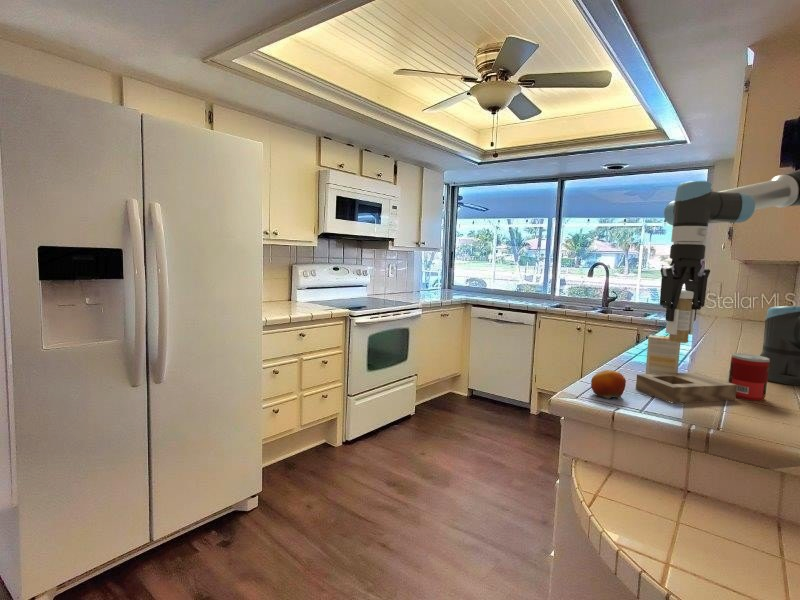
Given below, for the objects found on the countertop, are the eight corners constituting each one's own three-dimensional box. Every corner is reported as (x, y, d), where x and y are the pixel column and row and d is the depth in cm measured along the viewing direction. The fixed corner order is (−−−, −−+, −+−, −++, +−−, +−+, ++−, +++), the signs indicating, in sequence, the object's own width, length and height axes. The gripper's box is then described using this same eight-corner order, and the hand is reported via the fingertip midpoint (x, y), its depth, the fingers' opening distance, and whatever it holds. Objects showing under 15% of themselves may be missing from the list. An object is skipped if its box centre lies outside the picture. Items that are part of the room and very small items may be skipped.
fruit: (611, 399, 107) (601, 367, 111) (591, 405, 114) (582, 375, 118) (638, 397, 110) (628, 366, 113) (617, 404, 116) (607, 374, 120)
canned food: (771, 402, 114) (776, 360, 113) (736, 399, 116) (741, 358, 114) (754, 393, 121) (759, 354, 120) (721, 390, 123) (726, 352, 122)
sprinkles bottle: (670, 339, 119) (675, 289, 118) (690, 342, 116) (695, 291, 115) (666, 341, 116) (671, 290, 114) (686, 344, 113) (692, 291, 111)
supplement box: (677, 380, 132) (681, 337, 131) (676, 384, 128) (681, 339, 127) (645, 375, 137) (649, 333, 135) (644, 379, 133) (648, 335, 131)
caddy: (694, 386, 127) (696, 372, 126) (735, 399, 115) (736, 384, 115) (635, 388, 122) (636, 374, 122) (671, 403, 110) (673, 387, 110)
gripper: (672, 242, 108) (663, 336, 110) (729, 245, 112) (719, 336, 114) (648, 242, 115) (640, 331, 117) (702, 245, 119) (693, 330, 121)
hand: (679, 333), depth 116 cm, fingers closed on sprinkles bottle, 4 cm apart
